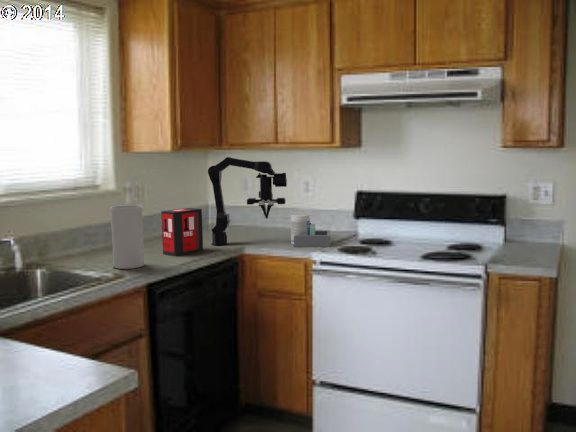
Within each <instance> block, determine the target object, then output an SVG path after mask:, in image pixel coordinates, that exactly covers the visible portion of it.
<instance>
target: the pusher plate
mask: <svg viewBox="0 0 576 432" xmlns="http://www.w3.org/2000/svg"><path fill="white" fill-rule="evenodd" d="M315 231H316V224H315V223H311V224H310V235H315Z"/></svg>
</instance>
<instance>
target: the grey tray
mask: <svg viewBox="0 0 576 432" xmlns="http://www.w3.org/2000/svg"><path fill="white" fill-rule="evenodd" d="M293 247H294V248H313V247H314V248H330V247H331V230H315V235H294V245H293Z"/></svg>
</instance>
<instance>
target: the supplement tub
mask: <svg viewBox="0 0 576 432" xmlns="http://www.w3.org/2000/svg"><path fill="white" fill-rule="evenodd" d="M310 223H311V217H310V214H307V213H295V214H291V215H290V237H291V238H290V243H291V245H293V246H294V235H310Z"/></svg>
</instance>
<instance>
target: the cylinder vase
mask: <svg viewBox="0 0 576 432" xmlns="http://www.w3.org/2000/svg"><path fill="white" fill-rule="evenodd" d="M143 221H144V220H143V206H142V205H137V204H136V205H135V204H129V205H114V206H110V223H111V225H110V226H111V227H110V228H111V240H112V241H111V242H112V244H111V245H112V259H113V260H112V261H113V267H114V269H119V270H133V269H138V268H141V267H144V266H145V247H144V244H145V243H144V225H143V223H144V222H143Z"/></svg>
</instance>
